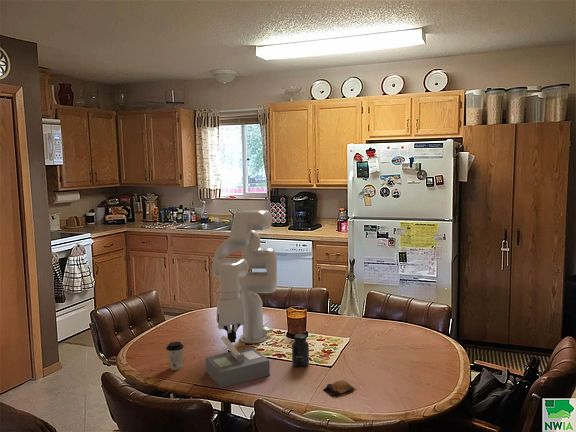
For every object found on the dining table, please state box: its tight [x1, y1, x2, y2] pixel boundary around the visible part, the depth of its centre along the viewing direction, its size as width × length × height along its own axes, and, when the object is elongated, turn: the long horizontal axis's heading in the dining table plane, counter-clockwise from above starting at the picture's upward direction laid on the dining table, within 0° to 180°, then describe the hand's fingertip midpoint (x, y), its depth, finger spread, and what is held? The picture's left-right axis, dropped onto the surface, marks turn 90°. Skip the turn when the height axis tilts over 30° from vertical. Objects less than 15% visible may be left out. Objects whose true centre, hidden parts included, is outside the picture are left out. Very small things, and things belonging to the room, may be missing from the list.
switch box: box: [205, 346, 271, 389], centre depth 189 cm, size 20×16×9 cm
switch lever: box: [220, 335, 240, 359], centre depth 188 cm, size 2×5×10 cm
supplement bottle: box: [291, 333, 310, 368], centre depth 196 cm, size 7×7×12 cm
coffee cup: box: [165, 341, 184, 371], centre depth 197 cm, size 7×7×10 cm
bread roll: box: [322, 379, 357, 398], centre depth 174 cm, size 11×8×4 cm
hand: (231, 341), depth 187 cm, fingers closed
